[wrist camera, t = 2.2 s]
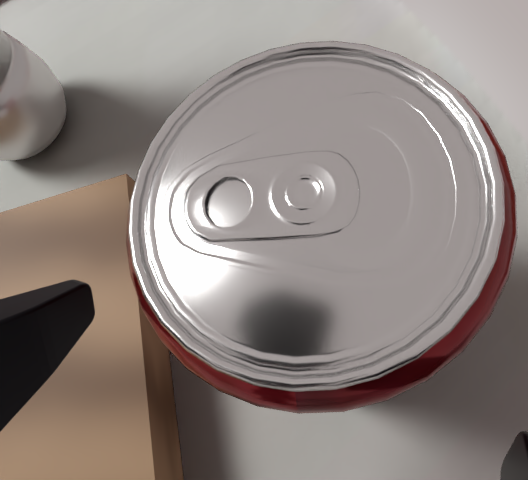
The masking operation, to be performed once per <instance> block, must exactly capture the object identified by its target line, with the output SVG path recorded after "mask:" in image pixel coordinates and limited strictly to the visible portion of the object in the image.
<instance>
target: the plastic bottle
mask: <svg viewBox="0 0 528 480" xmlns="http://www.w3.org/2000/svg"><path fill="white" fill-rule="evenodd" d="M65 117H66V102H65V95H64V90H63V88H62V85H61V83H60V82H59V80H58V79H57V78H56V76H55V75H54V74H53V72H52V71H51V69H50V68H49V67H48V65H47V64H46V63H45V62H44V60H43V59H42V58H40V57H39V56H38V55H36V54H35V53H34V52H33V51H31V50H30V49H29V48H27V47H26V46H25V45H24V44H22V43H21V42H19V41H18V40H16V39H15V38H13V37H12V36H10V35H9V34H7V33H6V32H4V31H2V30H1V29H0V161H9V160H21V159H26V158H29V157H31V156H34V155H36V154H38V153H39V152H41V151H43V150H44V149H45V148H46V147H48V146H49V145H50V144H51V143H52V142H53V141H54V139H55V138H56V137H57V135H58V134H59V132H60V131H61V129H62V127H63V124H64V121H65Z"/></svg>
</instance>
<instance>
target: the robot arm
mask: <svg viewBox="0 0 528 480" xmlns="http://www.w3.org/2000/svg"><path fill="white" fill-rule="evenodd" d="M94 316H95V307H94V301H93V295H92V290H91V287H90V285H89V284H87V283H84V282H81V281H78V280H74V279H72V280H68V281H64V282H60V283H57V284H53V285H50V286H46V287H42V288H39V289H35V290H32V291H28V292H24V293H21V294H17V295H14V296H10V297H6V298H3V299H0V432H1V431H2V430H3V428H4V427H5V426H6V425H7V424H8V423H9V422H10V421H11V420H12V419H13V417H14V416H15V415H16V414H17V413H18V412H19V411H20V410H21V409H22V408H23V406H24V405H25V404H26V403H27V402H28V401H29V400H30V399H31V398H32V397H33V395H34V394H35V393H36V392H37V391H38V390H39V389H40V388H41V387H42V386H43V384H44V383H45V382H46V381H47V380H48V379H49V378H50V376H51V375H52V374H53V373H54V372H55V370H56V369H57V368H58V366H59V365H60V364H61V363H62V361H63V360H64V359H65V357H66V356H67V355H68V353H69V352H70V351H71V349H72V348H73V347H74V345H75V344H76V343H77V341H78V340H79V339H80V337H81V336H82V335H83V333H84V332H85V331H86V329H87V328H88V327H89V325H90V324H91V323H92V321H93V319H94ZM500 480H528V432H524V431H523V432H520V433H519V434H518V435H517V437H516V438H515V440H514V442H513V444H512V446H511V448H510V449H509V451H508V453H507V455H506V457H505V459H504V461H503V464H502V468H501V478H500Z"/></svg>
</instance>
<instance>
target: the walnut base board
mask: <svg viewBox="0 0 528 480" xmlns="http://www.w3.org/2000/svg"><path fill="white" fill-rule="evenodd" d="M134 184H135V181H134V180H133V179H132V178H130V177H129V176H128V175H127V174H124V175H121V176H117V177H114V178H111V179H108V180H104V181H101V182H98V183H95V184H91V185H88V186H85V187H82V188H79V189H75V190H72V191H69V192H66V193H62V194H59V195H56V196H53V197H49V198H46V199H43V200H40V201H37V202H33V203H30V204H27V205H24V206H20V207H17V208H14V209H11V210H7V211H4V212H1V213H0V299H3V298H6V297H10V296H14V295H17V294H21V293H24V292H28V291H32V290H35V289H39V288H42V287H46V286H50V285H53V284H57V283H60V282H64V281H68V280H72V279H74V280H78V281H81V282H84V283H87V284H89V285H90V287H91V290H92V295H93V301H94V307H95V316H94V319H93V321H92V323H91V324H90V325H89V327H88V328H87V329H86V331H85V332H84V333H83V335H82V336H81V337H80V339H79V340H78V341H77V343H76V344H75V345H74V347H73V348H72V349H71V351H70V352H69V353H68V355H67V356H66V357H65V359H64V360H63V361H62V363H61V364H60V365H59V366H58V368H57V369H56V370H55V372H54V373H53V374H52V375H51V376H50V378H49V379H48V380H47V381H46V382H45V383H44V384H43V386H42V387H41V388H40V389H39V390H38V391H37V392H36V393H35V394H34V395H33V397H32V398H31V399H30V400H29V401H28V402H27V403H26V404H25V405H24V406H23V408H22V409H21V410H20V411H19V412H18V413H17V414H16V415H15V416H14V417H13V419H12V420H11V421H10V422H9V423H8V424H7V425H6V426H5V427H4V428H3V430H2V431H1V432H0V480H184V478H183V469H182V461H181V452H180V443H179V435H178V426H177V417H176V409H175V400H174V391H173V383H172V374H171V365H170V356H169V349H168V348H167V347H166V346H165V345H164V344H163V343H162V342H161V340H160V338H159V337H158V335H157V334H156V332H155V330H154V329H153V327H152V325H151V324H150V322H149V320H148V319H147V317H146V315H145V314H144V312H143V310H142V308H141V305H140V302H139V299H138V296H137V293H136V291H135V288H134V285H133V282H132V279H131V276H130V270H129V262H128V255H127V247H126V233H127V216H128V208H129V204H130V200H131V196H132V192H133V188H134Z"/></svg>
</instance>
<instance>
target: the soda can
mask: <svg viewBox="0 0 528 480" xmlns="http://www.w3.org/2000/svg"><path fill="white" fill-rule="evenodd" d="M516 241H517V211H516V195H515V191H514V188H513V184H512V180H511V176H510V172H509V169H508V165H507V161H506V157H505V155H504V153H503V151H502V149H501V147H500V145H499V143H498V142H497V140H496V138H495V136H494V134H493V132H492V130H491V128H490V126H489V125H488V123H487V122H486V120H485V119H484V118H483V117H482V116H481V115H480V113H479V112H478V111H477V110H476V109H475V108H474V106H473V105H472V104H471V103H470V102H469V101H468V99H467V98H466V97H465V96H464V95H463V94H462V93H460V92H459V91H458V90H456V89H455V88H454V87H453V86H451V85H450V84H449V83H447V82H446V81H445V80H444V79H442V78H441V77H440V76H438V75H437V74H436V73H434V72H432V71H430V70H429V69H427V68H425V67H423V66H421V65H419V64H417V63H415V62H413V61H411V60H409V59H407V58H405V57H403V56H401V55H399V54H396V53H393V52H390V51H386V50H383V49H379V48H376V47H372V46H369V45H364V44H356V43H347V42H338V41H325V42H305V43H298V44H293V45H288V46H284V47H279V48H274V49H270V50H267V51H264V52H262V53H259V54H257V55H254V56H251V57H249V58H246V59H243V60H241V61H239V62H237V63H235V64H234V65H232V66H230V67H228V68H226V69H225V70H223V71H221V72H219V73H218V74H216V75H214V76H213V77H211V78H210V79H209V80H207V81H206V82H205V83H204V84H202V85H201V86H200V87H198V88H197V89H196V90H195V91H193V92H192V93H191V94H190V95H188V97H187V98H186V99H185V100H184V101H183V102H182V103H181V104H180V105H179V106H178V107H177V108H176V109H175V110H174V112H173V113H172V114H171V115H170V116H169V117H168V118H167V120H166V121H165V123H164V124H163V126H162V127H161V129H160V130H159V132H158V133H157V135H156V136H155V137H154V139H153V140H152V142H151V144H150V146H149V148H148V150H147V152H146V155H145V157H144V159H143V161H142V164H141V166H140V168H139V170H138V173H137V177H136V180H135V184H134V188H133V192H132V196H131V200H130V204H129V208H128V216H127V233H126V247H127V255H128V262H129V270H130V276H131V279H132V282H133V285H134V288H135V291H136V293H137V296H138V299H139V302H140V305H141V308H142V310H143V312H144V314H145V315H146V317H147V319H148V320H149V322H150V324H151V325H152V327H153V329H154V330H155V332H156V334H157V335H158V337H159V338H160V340H161V342H162V343H163V344H164V345H165V346H166V347H167V348H168V349H169V350H170V351H171V352H172V354H173V355H174V356H175V357H176V358H177V359H178V360H179V361H180V362H181V363H182V364H183V365H184V366H185V367H186V368H187V369H188V370H189V371H191V372H192V373H194V374H195V375H197V376H198V377H200V378H201V379H203V380H204V381H205V382H207V383H208V384H210V385H211V386H213V387H214V388H216V389H217V390H219V391H221V392H223V393H226V394H228V395H231V396H233V397H236V398H238V399H240V400H243V401H245V402H248V403H250V404H253V405H255V406H259V407H265V408H270V409H276V410H282V411H288V412H293V413H323V412H344V411H348V410H352V409H355V408H359V407H363V406H367V405H371V404H375V403H379V402H383V401H387V400H389V399H391V398H393V397H395V396H397V395H399V394H401V393H403V392H405V391H407V390H409V389H411V388H413V387H415V386H417V385H419V384H421V383H423V382H425V381H427V380H428V379H430V378H431V377H432V376H433V375H434V374H436V373H437V372H438V371H439V370H441V369H442V368H443V367H444V366H446V365H447V364H448V363H449V362H450V361H452V360H453V359H454V358H455V357H457V356H458V355H459V354H460V353H462V352H463V351H464V349H465V348H466V347H467V346H468V344H469V343H470V342H471V341H472V339H473V338H474V337H475V335H476V334H477V333H478V332H479V330H480V329H481V328H482V327H483V325H484V324H485V323H486V321H487V320H488V319H489V318H490V316H491V314H492V312H493V310H494V308H495V306H496V304H497V301H498V299H499V297H500V295H501V293H502V291H503V289H504V287H505V284H506V282H507V280H508V278H509V274H510V269H511V264H512V260H513V255H514V250H515V245H516Z"/></svg>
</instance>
